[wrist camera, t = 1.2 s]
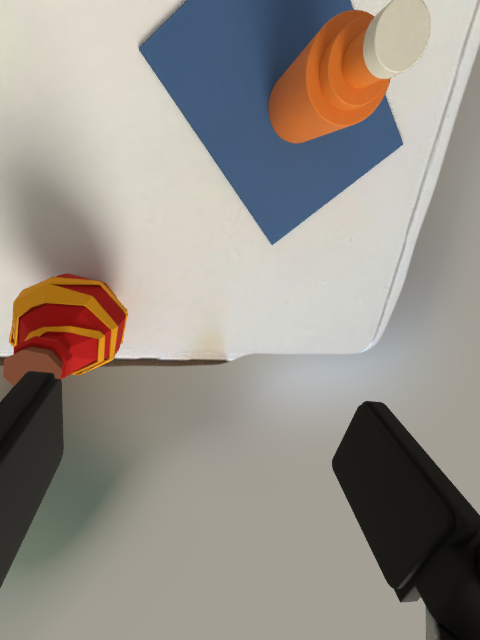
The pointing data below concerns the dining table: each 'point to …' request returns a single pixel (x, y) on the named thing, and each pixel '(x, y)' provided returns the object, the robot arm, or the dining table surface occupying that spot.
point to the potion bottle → (64, 327)
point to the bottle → (347, 70)
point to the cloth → (261, 104)
